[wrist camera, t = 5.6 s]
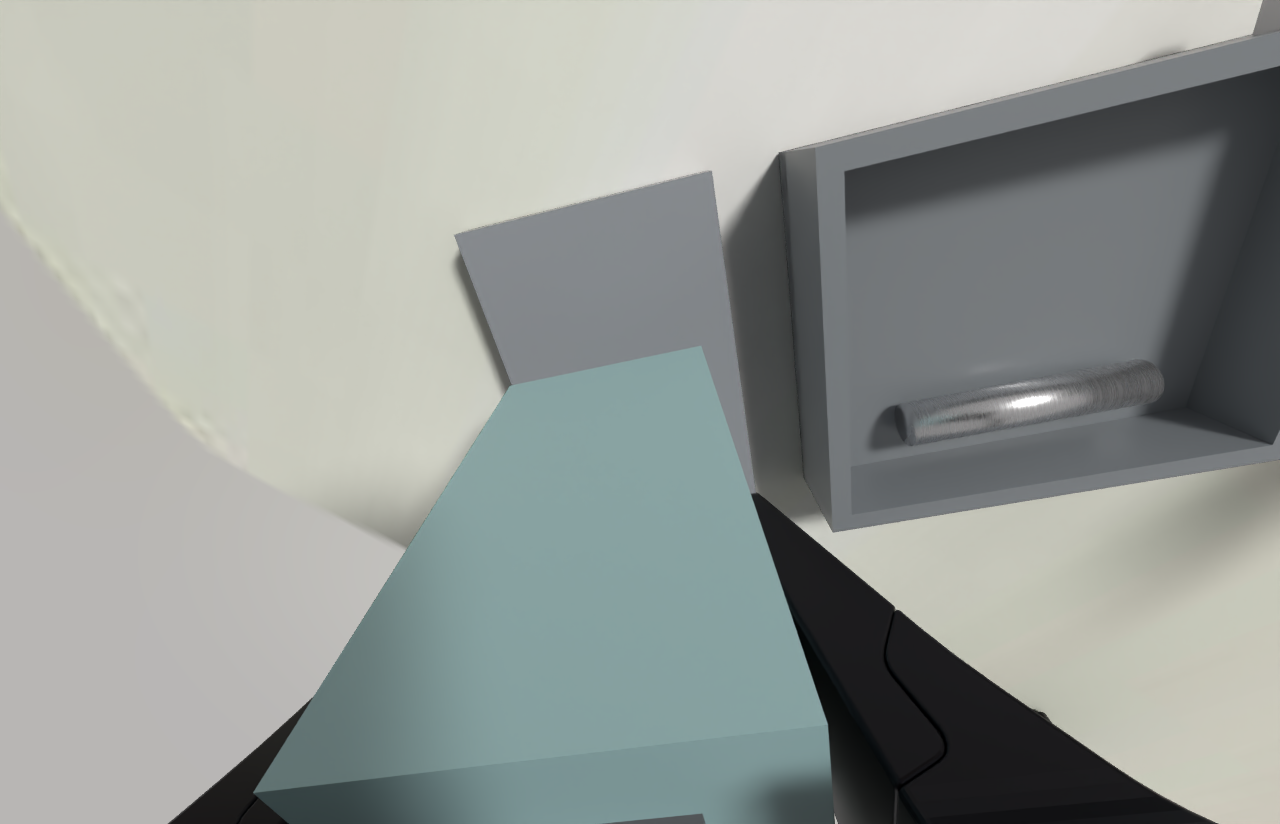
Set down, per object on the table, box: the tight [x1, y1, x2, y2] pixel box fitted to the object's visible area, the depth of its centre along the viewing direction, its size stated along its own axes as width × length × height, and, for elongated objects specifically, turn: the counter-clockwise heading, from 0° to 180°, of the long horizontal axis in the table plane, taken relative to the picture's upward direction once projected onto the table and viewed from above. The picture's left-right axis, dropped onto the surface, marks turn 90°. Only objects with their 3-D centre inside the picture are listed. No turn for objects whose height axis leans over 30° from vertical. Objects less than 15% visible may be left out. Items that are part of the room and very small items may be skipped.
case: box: [779, 0, 1280, 532], centre depth 13 cm, size 12×13×3 cm
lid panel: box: [454, 171, 756, 494], centre depth 15 cm, size 11×7×1 cm, turn 13°
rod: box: [895, 359, 1164, 446], centre depth 15 cm, size 1×7×1 cm
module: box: [253, 346, 835, 824], centre depth 8 cm, size 4×4×9 cm
